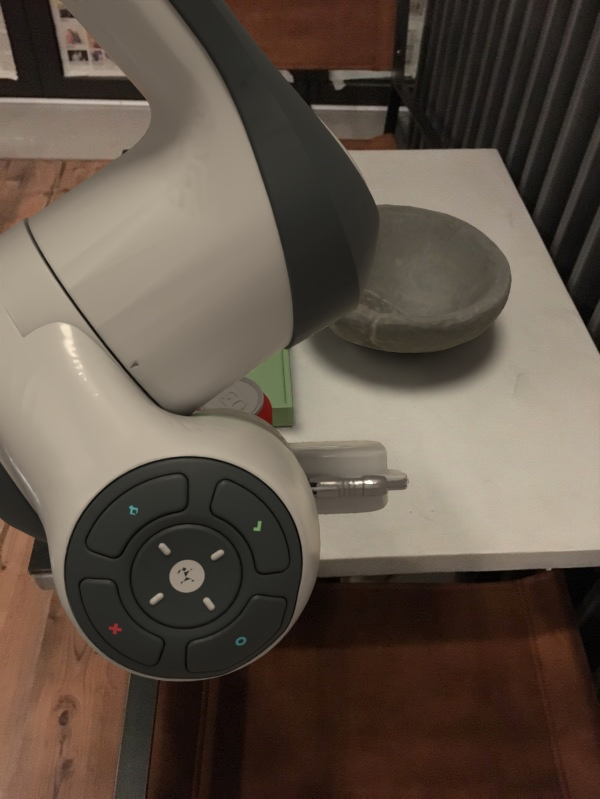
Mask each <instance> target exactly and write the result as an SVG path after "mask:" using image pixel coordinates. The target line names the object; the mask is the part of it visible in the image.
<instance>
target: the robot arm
mask: <svg viewBox="0 0 600 799" xmlns="http://www.w3.org/2000/svg"><path fill="white" fill-rule="evenodd" d="M59 1H60V3H61V4H62V5H63V6H64V7H65V8H66V10H67V11H68V12H69V13H70V15H72V16H73V18H74V19H76V21H77V23H79V24H80V26H81V27H82V28H83V29H84V30H85V32H87V33H88V35H89V36H90V37H91V38H92V39H93V40H94V42H96V44H97V45H98V46H99V47H100V48H101V49H102V50H103V52H104V53H105V54H106V55H107V56H108V57H109V58H110V60H111V61H112V62H113V63H114V64H115V65H116V66H117V68H118V69H119V70H120V71H121V72H122V73H123V75H125V77H126V78H127V79H128V80H129V81H130V82H131V83H132V84H133V86H134V87H135V88H136V89H137V90H138V91H139V92H140V94H141V95H142V96H143V97H144V98H145V100H146V102H147V104H148V106H149V109H150V121H149V125H148V128H147V129H146V131H145V133H144V134H143V136H142V137H141V138H140V139H139V140H138V141H137V142H136V143H135V144H134V145H132V146H131V147H130V148H129V149H127V150H126V151H125V152H124V153H123V152H122V154H120V155H118V156H117V157H116V158H114V159H113V160H112V161H110V162H109V163H108V164H106V165H105V166H103V167H102V168H100V169H99V170H97V171H96V172H94V173H93V174H92V175H90V176H89V177H87V178H86V179H84V180H83V181H81V182H79V184H77V185H75V186H74V187H72V188H71V189H70V190H68V191H67V192H65V193H64V194H62V195H61V196H60V197H58V198H56V199H55V200H54V201H52V202H50V203H49V204H48V205H46V206H45V207H44V208H42V209H41V210H39V211H38V212H36V213H35V214H34V215H32V216H30V217H25V218H23V219H21V220H20V221H18V222H17V223H15V224H14V225H13V226H10V227H9V228H8V229H6V230H5V231H3V232H1V233H0V520H1V521H3V522H4V523H5V524H7V525H9V527H12V528H14V529H15V530H18V531H19V532H21V533H24V534H25V535H28V536H30V537H32V538H33V539H35V540H38V541H40V542H43V543H46V544H47V546H48V547H47V548H48V556H49V562H50V569H51V575H52V580H53V583H54V587H55V591H56V594H57V596H58V599H59V603H60V604H61V607H62V609H63V611H64V612H65V614H66V615H67V617H68V619H69V621H70V623H71V624H72V625H73V627H74V629H76V631H77V633H79V635H80V636H81V638H82V639H83V640H84V641H85V643H86V644H87V645H88V646H89V647H90V648H91V649H92V650H93V651H94V652H95V653H97V654H98V655H99V656H100V657H102V658H103V659H104V660H106V661H108V662H109V663H111V664H112V665H114V666H116V668H117V667H118V668H119V669H121V670H123V671H126V672H128V673H130V674H133V675H136V676H139V677H143V678H146V679H152V680H157V681H164V682H196V681H204V680H210V679H214V678H219V677H223V676H226V675H229V674H232V673H233V672H236V671H238V670H241V669H243V668H245V667H247V666H249V665H250V664H252V663H254V662H256V661H257V660H258V659H260V658H262V657H264V656H265V655H266V654H267V653H269V652H270V651H271V650H272V649H274V647H276V645H279V643H280V642H281V641H282V640H283V639H284V637H285V636H286V635H287V634H288V633H289V632H290V631H291V629H292V627H293V626H294V625H295V624H296V622H297V621H298V620H299V618H300V616H301V614H302V612H303V611H304V609H305V607H306V605H307V604H308V601H309V599H310V597H311V595H312V592H313V590H314V588H315V584H316V581H317V579H318V573H319V567H320V560H321V542H322V541H321V525H320V518H319V515H341V514H343V515H345V514H347V515H348V514H360V513H361V514H363V513H371V512H376V511H380V510H382V509H384V508H385V507H387V506H388V502H389V491H404V490H407V489H408V485H409V483H410V479H409V478H408V474H407V473H406V472H404V471H402V470H400V469H399V470H398V469H391V468H388V467H389V466H388V450H387V448H386V446H385V445H384V444H383V443H381V442H380V441H377V440H369V439H356V440H354V439H353V440H329V441H326V440H325V441H299V442H298V441H296V442H295V441H294V442H293V441H291V442H288V441H287V439H286V438H285V437H284V436H283V435H282V433H281V432H280V431H278V429H276V427H273V426H272V425H270V424H269V423H268V422H267V421H265V420H263V419H262V418H260V417H258V416H256V415H254V414H252V413H249V412H246V411H243V410H239V409H234V408H225V407H216V408H207V409H202V410H198V409H199V408H200V407H202V406H203V405H205V404H206V403H207V402H209V401H210V400H212V399H213V398H214V397H216V396H217V395H219V394H220V393H221V392H223V391H224V390H226V389H227V388H228V387H230V386H231V385H233V384H234V383H236V382H237V381H238V380H240V379H241V378H243V377H244V376H245V375H247V374H248V373H250V372H251V371H252V370H254V369H255V368H257V367H258V366H259V365H261V364H262V363H264V362H265V361H266V360H268V359H269V358H271V357H272V356H273V355H275V354H276V353H278V352H279V351H280V350H282V349H288V350H289V349H292V348H293V347H295V346H297V345H298V344H300V343H302V342H303V341H305V340H307V339H308V338H310V337H312V336H314V335H315V334H317V333H319V332H321V331H322V330H324V329H326V328H327V327H329V325H331V324H333V323H334V322H336V321H338V320H339V319H341V318H343V317H345V316H346V315H348V314H350V313H351V312H353V311H355V310H356V309H357V307H358V305H359V303H360V300H361V297H362V295H363V292H364V289H365V287H366V284H367V281H368V278H369V274H370V271H371V267H372V264H373V260H374V255H375V251H376V246H377V240H378V233H379V224H380V217H379V212H378V209H377V206H376V205H377V203H376V200H375V199H374V196H373V195H372V193H371V190H370V189H369V186H368V184H367V181H366V178H365V177H364V174H363V173H362V171H361V170H360V168H359V166H358V164H357V163H356V161H355V160H354V158H353V157H352V156H351V154H350V152H349V151H348V149H347V148H346V147H345V146H344V144H343V143H342V142H341V140H340V139H339V138H338V137H337V135H335V133H334V132H333V131H332V130H331V129H330V128H329V127H328V126H327V125H326V124H325V121H323V120H322V119H321V118H320V117H319V116H318V115H317V114H316V112H314V110H313V109H312V108H311V106H310V105H308V103H307V102H306V101H305V100H304V98H303V97H302V96H301V95H300V93H299V92H298V91H297V90H296V89H295V87H293V85H292V84H291V83H290V82H289V81H288V79H286V77H285V76H284V74H282V73H281V71H280V70H279V69H278V68H277V67H276V66H275V64H274V63H273V62H272V61H271V59H270V58H269V57H268V56H267V55H266V53H265V51H263V49H262V48H261V47H260V46H259V45H258V43H257V42H256V41H255V40H254V38H253V37H252V36H251V35H250V33H249V32H248V30H247V29H246V28H245V27H244V25H243V24H242V23H241V22H240V20H239V18H238V17H237V16H236V15H235V13H234V12H233V11H232V9H231V8H230V7H229V5H228V3H226V1H225V0H59ZM196 410H198V411H196Z"/></svg>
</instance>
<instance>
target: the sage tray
mask: <svg viewBox="0 0 600 799" xmlns="http://www.w3.org/2000/svg"><path fill="white" fill-rule="evenodd" d="M290 367H291V366H290V354H289V349H282V350H280V351H279V352H278V353H276V354H275V355H273V356H272V357H271V358H269V359H268V360H266V361H265V362H264V363H262V364H261V365H259V366H258V367H257V368H255V369H254V370H252V371H251V372H250V373H248V374H247V375H245V377H248V378H250V379H252V380H254V381H255V382H256V383H257V384H258V385H259V386H260V387H261V389H262V391H263V393H264V394H265V395H266V396H267V397H268V399H269V401H270V403H271V405H272V416H273V427H274V428H276V427H293V421H294V420H293V419H294V418H293V417H294V416H293V415H294V404H293V392H292V378H291V368H290Z"/></svg>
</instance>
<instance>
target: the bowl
mask: <svg viewBox="0 0 600 799" xmlns="http://www.w3.org/2000/svg"><path fill="white" fill-rule="evenodd" d="M376 206H377V209H378V212H379V217H380V224H379V233H378V240H377V246H376V251H375V255H374V260H373V264H372V267H371V271H370V274H369V278H368V281H367V284H366V287H365V289H364V292H363V295H362V297H361V300H360V303H359V305H358V307H357V309H356V310H355V311H353V312H351V313H350V314H348V315H346V316H345V317H343V318H341V319H339V320H338V321H336V322H334V323H333V324H331V325H329V326H328V327H329V329H330V330H331V331H332V332H333V333H334V334H335V335H337V336H338V337H339V338H340V339H342V340H344V341H347V342H349V343H352V344H355V345H358V346H362V347H364V348H368V349H373V350H379V351H383V352H390V353H400V354H407V353H408V354H409V353H411V354H413V353H414V354H417V353H418V354H420V353H421V354H423V353H433V352H440V351H444V350H447V349H452V348H454V347H457V346H460V345H463V344H465V343H469V342H470V341H473V340H474V339H475V338H477V337H479V336H480V335H482V334H483V333H484V332H486V330H488V329H489V328H490V327H491V326H492V325H493V324H494V322H495V321H496V320H497V319H498V317H500V315H501V313H502V312H503V310H504V308H505V307H506V305H507V302H508V300H509V297H510V293H511V287H512V280H513V278H512V271H511V266H510V265H511V264H510V263H509V260H508V258H507V257H506V255H505V253H504V252H503V251H502V250H501V249H500V247H499V246H498V244H496V243H495V242H494V241H493V240H492V239H491V238H490V237H489V236H487V235H486V233H484V232H482V230H480V229H479V228H477V227H476V226H474V225H472V224H471V223H469V222H468V221H466V220H463V219H461V218H459V217H456V216H454V215H451V214H449V213H446V212H442V211H437V210H432V209H427V208H423V207H418V206H412V205H400V204H388V203H385V204H376Z"/></svg>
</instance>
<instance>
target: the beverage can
mask: <svg viewBox="0 0 600 799" xmlns="http://www.w3.org/2000/svg"><path fill="white" fill-rule="evenodd" d="M216 407H225V408H234V409H239V410H243V411H246V412H249V413H252V414H254V415H256V416H258V417H260V418H262V419H263V420H265V421H267V422H268V423H269V424H270V425H272V426H273V416H272V405H271V403H270V401H269V399H268V397H267V396H266V395H265V394H264V393H263V391H262V389H261V387H260V386H259V385H258V384H257V383H256V382H255V381H254V380H252V379H250V378H248V377H245V376H244V377H243V378H241V379H240V380H238V381H237V382H236V383H234V384H233V385H231V386H230V387H228V388H227V389H226V390H224V391H223V392H221V393H220V394H219V395H217V396H216V397H214V398H213V399H212V400H210V401H209V402H207V403H206V404H205V405H203V406H202V407H200V408H199V409H198V410H202V409H207V408H216ZM198 410H196V411H198Z"/></svg>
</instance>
